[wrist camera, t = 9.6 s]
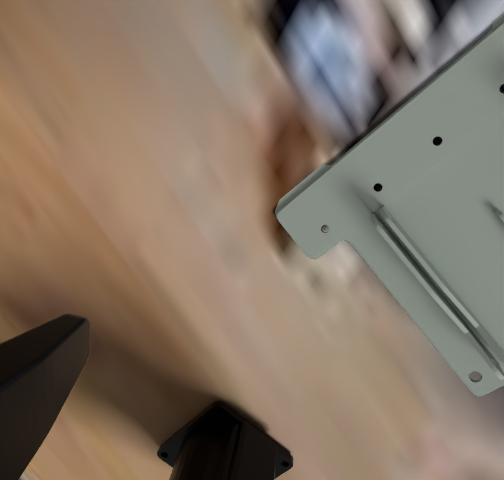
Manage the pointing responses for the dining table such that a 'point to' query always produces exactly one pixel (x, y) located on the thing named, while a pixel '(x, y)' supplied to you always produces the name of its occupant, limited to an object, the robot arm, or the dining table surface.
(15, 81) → the dining table surface
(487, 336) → the metal bracket
